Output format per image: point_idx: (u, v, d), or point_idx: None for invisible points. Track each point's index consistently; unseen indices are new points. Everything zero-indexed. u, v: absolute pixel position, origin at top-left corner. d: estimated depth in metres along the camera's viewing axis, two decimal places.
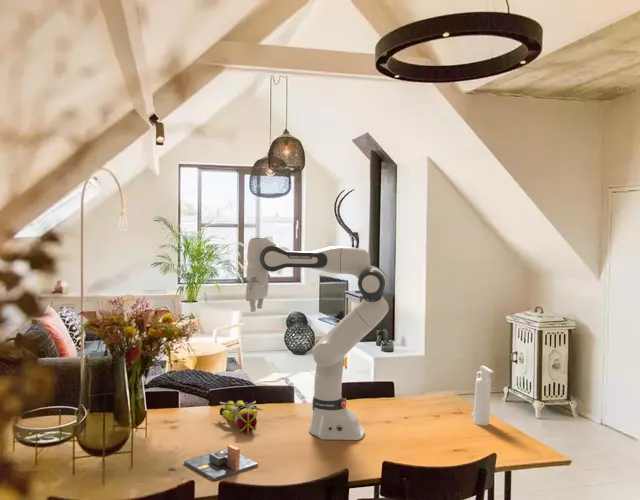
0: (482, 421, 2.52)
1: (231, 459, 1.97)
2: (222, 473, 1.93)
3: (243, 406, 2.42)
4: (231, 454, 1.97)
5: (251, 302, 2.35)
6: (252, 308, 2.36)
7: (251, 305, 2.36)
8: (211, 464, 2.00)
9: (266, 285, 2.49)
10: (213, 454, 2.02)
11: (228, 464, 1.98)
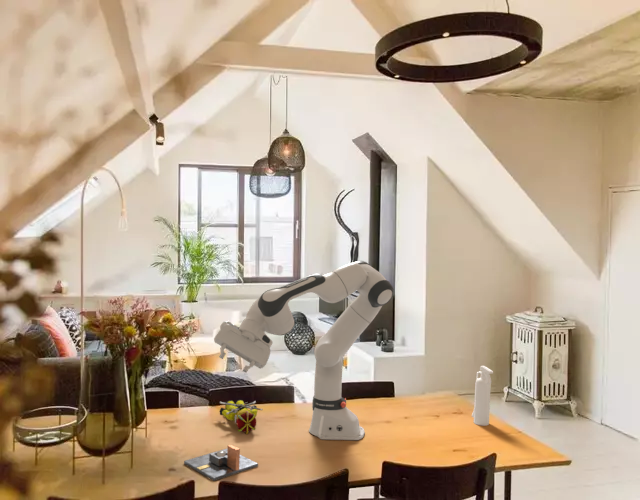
0: (482, 421, 2.52)
1: (231, 459, 1.97)
2: (222, 473, 1.93)
3: (243, 406, 2.42)
4: (231, 454, 1.97)
5: (221, 346, 2.04)
6: None
7: (220, 350, 2.03)
8: (211, 464, 2.00)
9: (265, 351, 2.08)
10: (213, 454, 2.02)
11: (228, 464, 1.98)
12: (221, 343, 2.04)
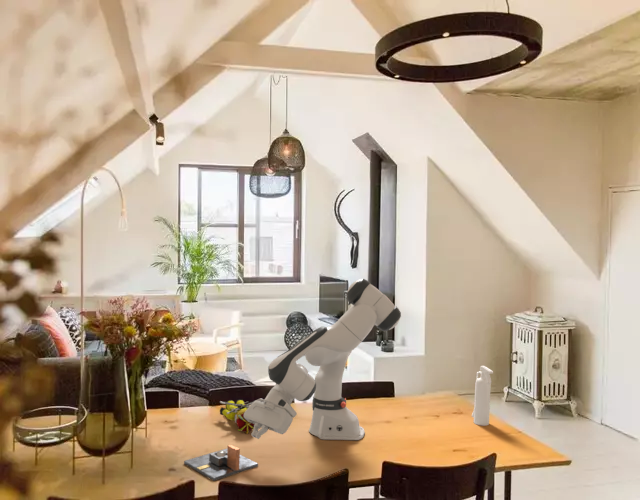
0: (482, 421, 2.52)
1: (231, 459, 1.97)
2: (222, 473, 1.93)
3: (243, 406, 2.42)
4: (231, 454, 1.97)
5: None
6: None
7: None
8: (211, 464, 2.00)
9: (281, 415, 2.02)
10: (213, 454, 2.02)
11: (228, 464, 1.98)
12: (249, 420, 2.11)
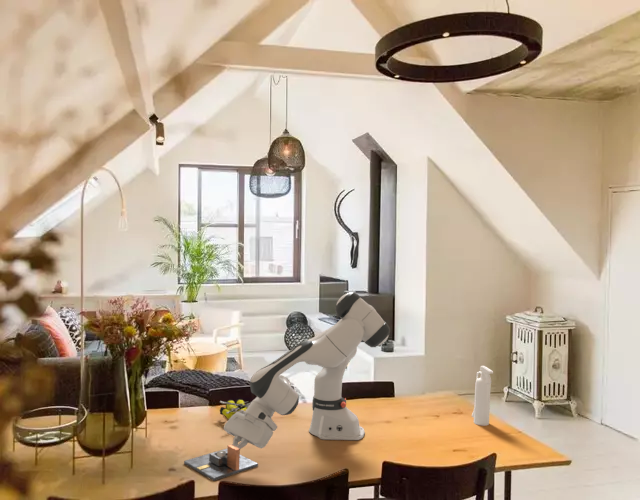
0: (482, 421, 2.52)
1: (231, 459, 1.97)
2: (222, 473, 1.93)
3: (243, 405, 2.43)
4: (231, 454, 1.97)
5: None
6: None
7: None
8: (211, 464, 2.00)
9: (261, 429, 1.97)
10: (213, 454, 2.02)
11: (228, 464, 1.98)
12: (229, 432, 2.06)
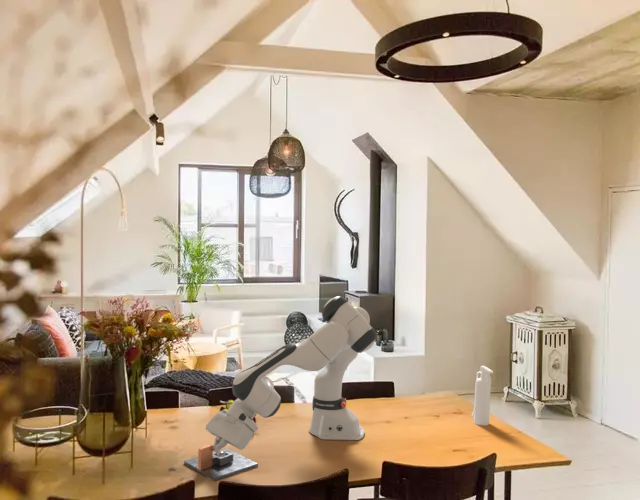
0: (482, 421, 2.52)
1: None
2: (222, 473, 1.93)
3: None
4: None
5: None
6: None
7: None
8: None
9: (241, 430, 1.96)
10: None
11: None
12: (211, 432, 2.05)
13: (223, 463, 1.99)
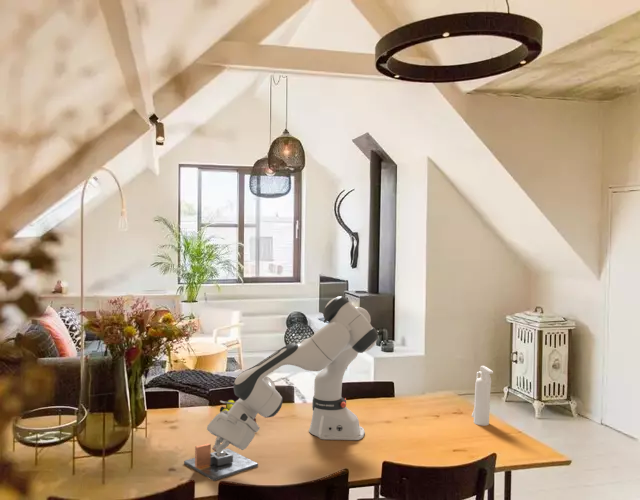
0: (482, 421, 2.52)
1: None
2: (222, 473, 1.93)
3: None
4: None
5: None
6: None
7: None
8: (211, 464, 2.00)
9: (242, 430, 1.96)
10: None
11: None
12: (212, 433, 2.05)
13: (221, 463, 1.99)
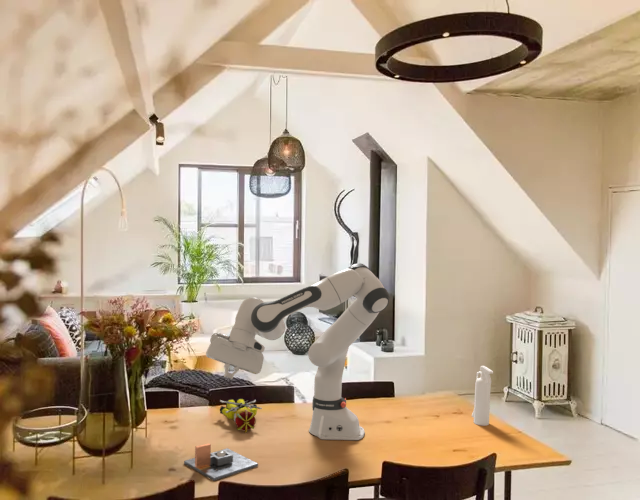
0: (482, 421, 2.52)
1: None
2: (222, 473, 1.93)
3: (242, 405, 2.44)
4: None
5: (224, 365, 2.06)
6: (225, 373, 2.05)
7: None
8: (211, 464, 2.00)
9: (258, 358, 2.09)
10: None
11: None
12: (213, 358, 2.04)
13: (221, 463, 1.99)
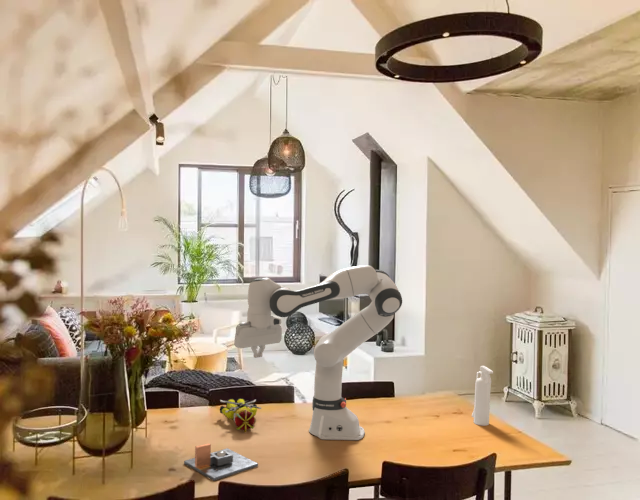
0: (482, 421, 2.52)
1: None
2: (222, 473, 1.93)
3: (242, 404, 2.44)
4: None
5: (252, 347, 2.20)
6: (254, 354, 2.21)
7: (253, 350, 2.20)
8: (211, 464, 2.00)
9: (277, 330, 2.25)
10: None
11: None
12: None
13: (221, 463, 1.99)
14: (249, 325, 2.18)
